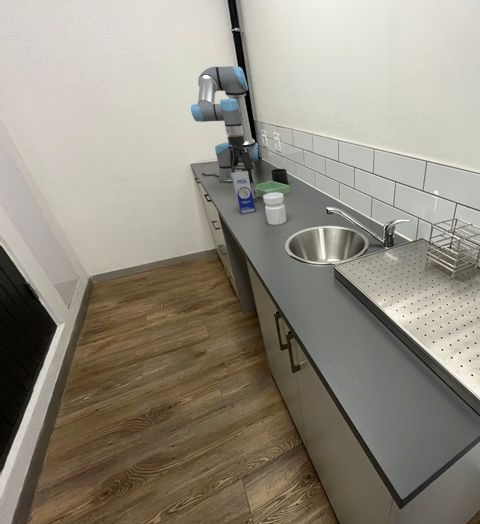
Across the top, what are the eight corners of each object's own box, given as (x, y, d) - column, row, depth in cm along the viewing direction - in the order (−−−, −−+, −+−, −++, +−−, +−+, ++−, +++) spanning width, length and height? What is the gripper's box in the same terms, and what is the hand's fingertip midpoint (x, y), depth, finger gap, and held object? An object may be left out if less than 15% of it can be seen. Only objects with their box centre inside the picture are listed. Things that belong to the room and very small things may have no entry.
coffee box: (236, 198, 155) (229, 167, 147) (244, 195, 160) (238, 164, 152) (251, 199, 153) (245, 168, 145) (258, 196, 158) (252, 165, 150)
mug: (286, 181, 194) (284, 167, 190) (289, 185, 185) (287, 171, 180) (271, 182, 191) (269, 168, 187) (274, 187, 182) (272, 172, 177)
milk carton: (240, 214, 142) (231, 172, 132) (238, 210, 148) (229, 169, 138) (255, 211, 145) (247, 170, 135) (252, 207, 150) (245, 167, 140)
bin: (250, 193, 171) (248, 186, 169) (272, 187, 181) (271, 180, 179) (268, 199, 161) (266, 191, 159) (290, 193, 171) (289, 185, 169)
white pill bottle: (277, 226, 129) (273, 199, 123) (263, 222, 133) (258, 196, 127) (290, 219, 135) (287, 194, 129) (276, 216, 139) (273, 191, 133)
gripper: (216, 134, 145) (226, 179, 156) (241, 138, 132) (250, 186, 143) (230, 133, 150) (239, 176, 161) (255, 136, 137) (263, 183, 148)
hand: (244, 181), depth 152 cm, fingers closed on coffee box, 10 cm apart
